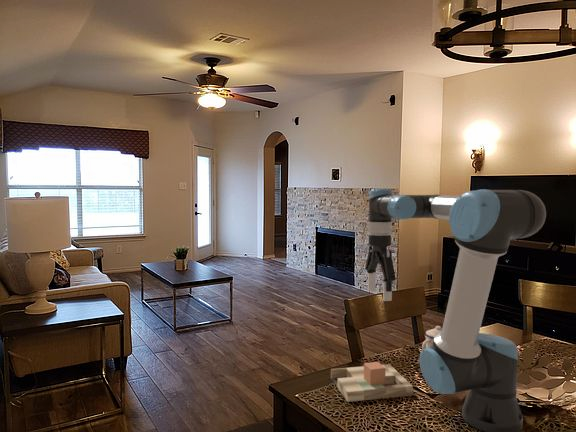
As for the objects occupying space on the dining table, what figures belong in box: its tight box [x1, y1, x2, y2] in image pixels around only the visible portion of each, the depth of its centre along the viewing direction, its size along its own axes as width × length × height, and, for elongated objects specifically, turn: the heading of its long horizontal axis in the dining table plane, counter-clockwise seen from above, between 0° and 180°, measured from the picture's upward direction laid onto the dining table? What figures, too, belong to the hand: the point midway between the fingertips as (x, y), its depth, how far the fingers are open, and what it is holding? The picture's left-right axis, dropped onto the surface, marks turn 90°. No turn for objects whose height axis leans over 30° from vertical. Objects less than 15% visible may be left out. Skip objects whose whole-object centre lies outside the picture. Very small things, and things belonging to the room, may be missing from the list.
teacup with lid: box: [421, 325, 442, 350], centre depth 165 cm, size 12×9×12 cm
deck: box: [330, 363, 414, 403], centre depth 141 cm, size 17×21×3 cm
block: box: [363, 361, 385, 385], centre depth 138 cm, size 5×5×5 cm
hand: (379, 295), depth 151 cm, fingers open, 13 cm apart
